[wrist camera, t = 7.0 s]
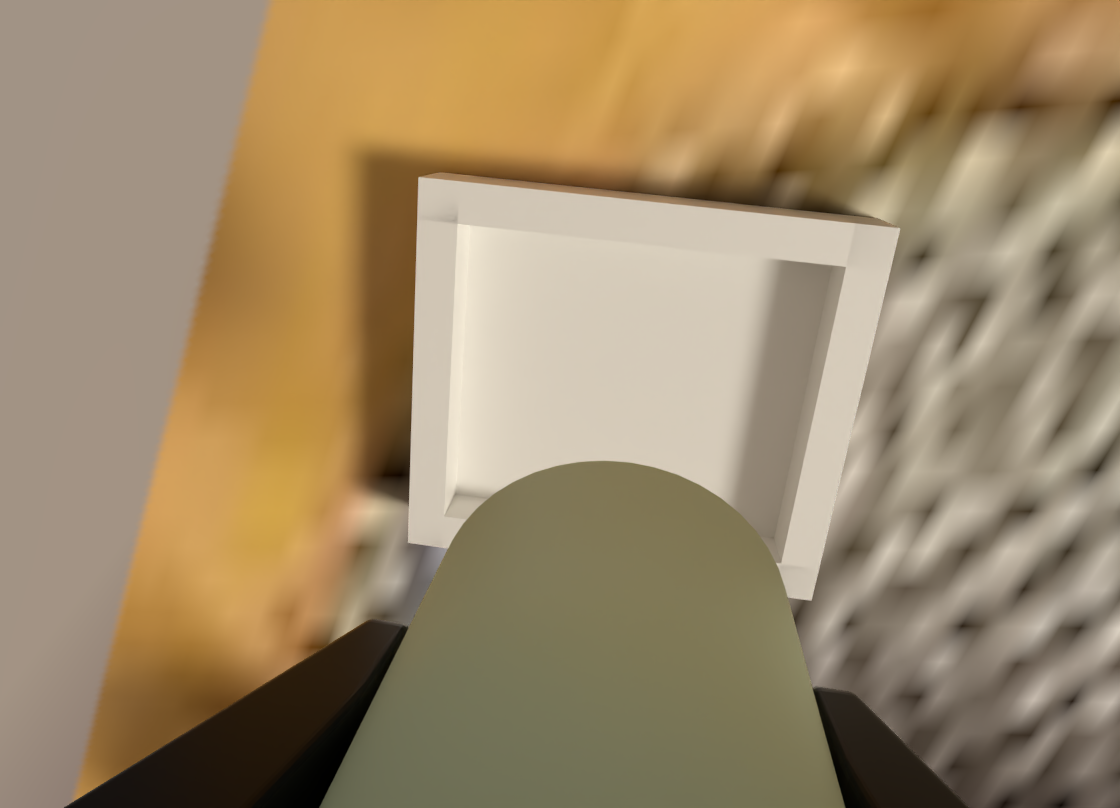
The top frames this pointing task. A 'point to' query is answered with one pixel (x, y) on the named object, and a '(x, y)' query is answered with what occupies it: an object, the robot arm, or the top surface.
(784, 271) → the tray
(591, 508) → the pale green rounded cylinder
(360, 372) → the top surface
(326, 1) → the top surface
